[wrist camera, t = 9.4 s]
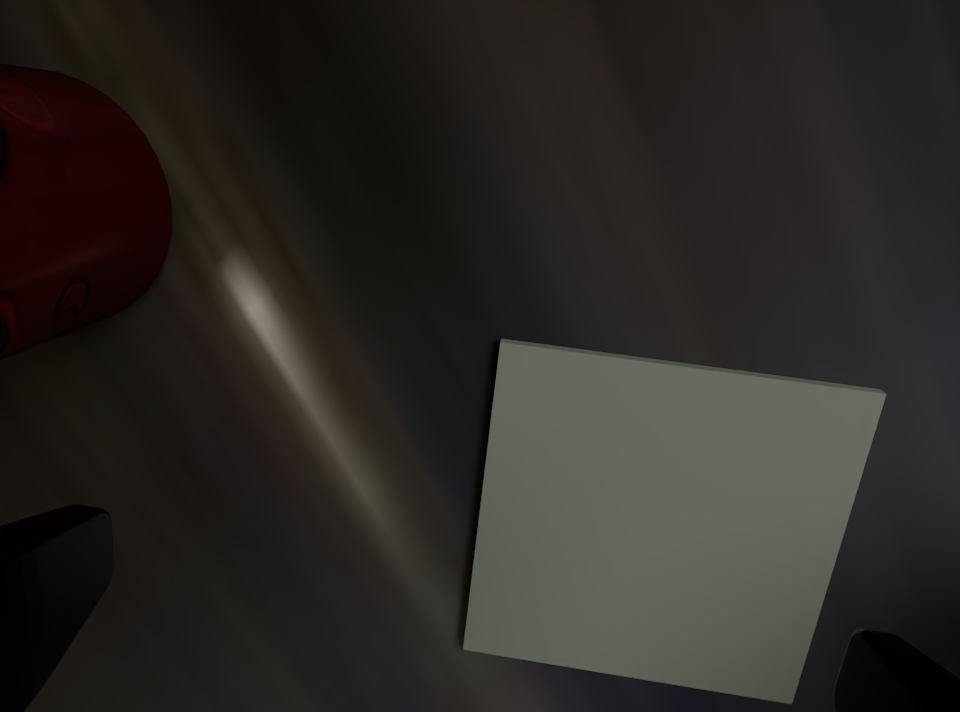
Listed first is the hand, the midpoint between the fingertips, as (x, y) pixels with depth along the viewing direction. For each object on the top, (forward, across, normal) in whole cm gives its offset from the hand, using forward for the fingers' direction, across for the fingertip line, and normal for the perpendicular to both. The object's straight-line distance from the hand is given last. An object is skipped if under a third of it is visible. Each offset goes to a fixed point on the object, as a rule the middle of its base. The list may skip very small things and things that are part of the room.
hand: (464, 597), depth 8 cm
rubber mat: (+13, -5, +6) cm, 15 cm away
